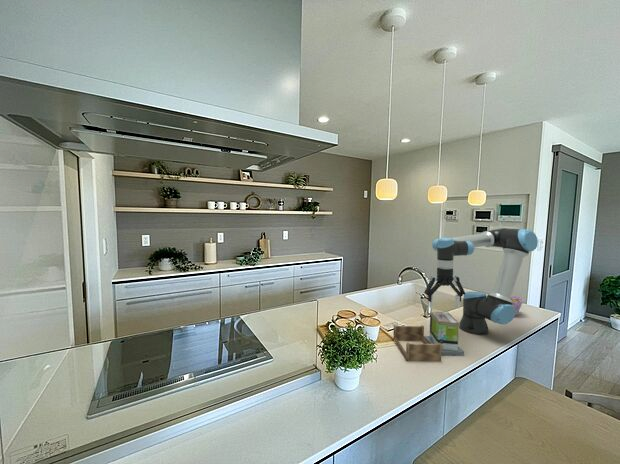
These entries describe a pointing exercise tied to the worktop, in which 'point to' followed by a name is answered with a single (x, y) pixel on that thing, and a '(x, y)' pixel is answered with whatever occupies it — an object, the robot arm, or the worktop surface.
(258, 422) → the worktop surface
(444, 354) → the slate board
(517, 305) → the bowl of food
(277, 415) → the worktop surface
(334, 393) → the worktop surface
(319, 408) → the worktop surface
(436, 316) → the tea box
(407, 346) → the walnut caddy
